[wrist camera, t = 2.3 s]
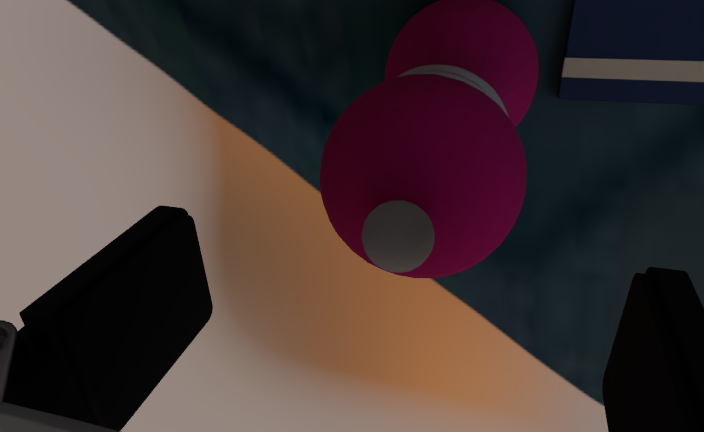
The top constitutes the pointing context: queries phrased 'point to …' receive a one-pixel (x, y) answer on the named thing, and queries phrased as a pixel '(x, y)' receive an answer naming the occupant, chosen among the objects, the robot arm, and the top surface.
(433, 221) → the pepper mill
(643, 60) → the tea towel
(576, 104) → the top surface
